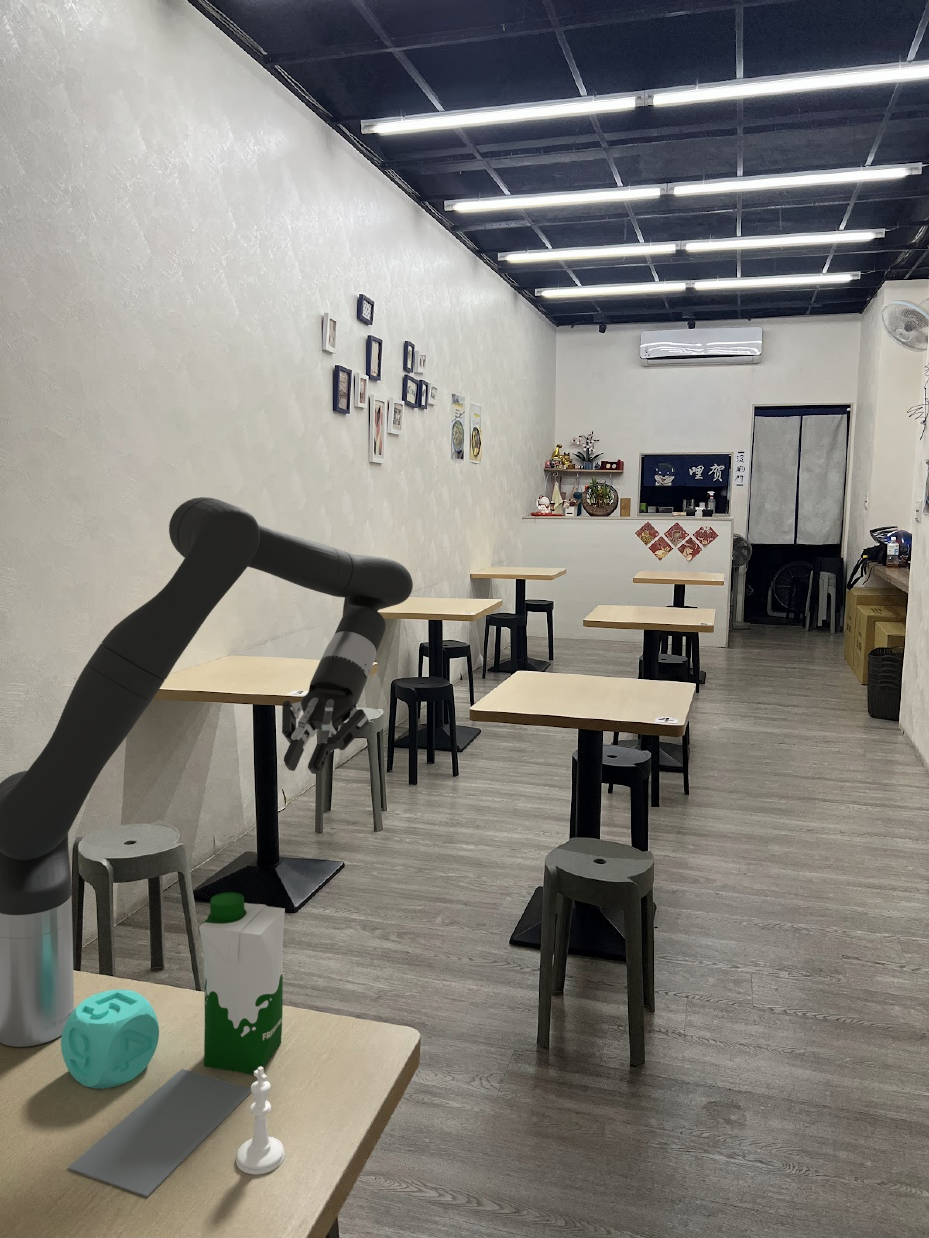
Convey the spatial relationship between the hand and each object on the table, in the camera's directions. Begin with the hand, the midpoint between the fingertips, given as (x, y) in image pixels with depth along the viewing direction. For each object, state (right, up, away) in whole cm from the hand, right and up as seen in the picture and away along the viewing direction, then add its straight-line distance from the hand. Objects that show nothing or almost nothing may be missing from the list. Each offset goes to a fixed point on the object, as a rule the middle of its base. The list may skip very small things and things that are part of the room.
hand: (301, 768), depth 124 cm
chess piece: (+1, -36, -30) cm, 47 cm away
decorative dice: (-20, -34, -16) cm, 42 cm away
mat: (-10, -35, -26) cm, 45 cm away
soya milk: (-5, -34, -12) cm, 36 cm away
